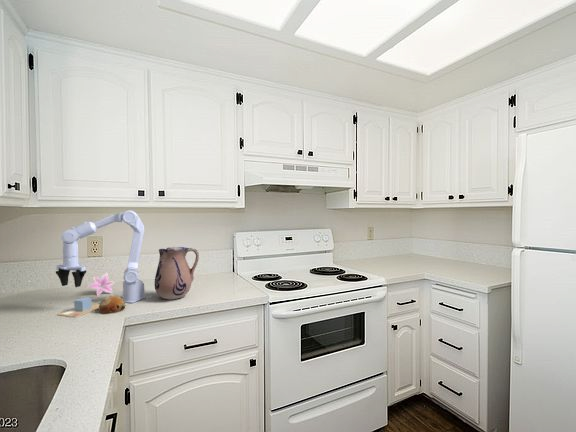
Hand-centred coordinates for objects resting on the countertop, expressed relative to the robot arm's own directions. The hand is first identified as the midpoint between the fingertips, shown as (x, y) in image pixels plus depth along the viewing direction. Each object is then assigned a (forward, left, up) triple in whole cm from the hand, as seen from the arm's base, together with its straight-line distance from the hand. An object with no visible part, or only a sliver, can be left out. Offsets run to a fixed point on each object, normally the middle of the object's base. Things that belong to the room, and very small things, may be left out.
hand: (71, 286), depth 136 cm
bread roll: (-2, +21, -10) cm, 23 cm away
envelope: (+1, +8, -10) cm, 13 cm away
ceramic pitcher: (-27, +36, -10) cm, 46 cm away
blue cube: (+1, +8, -10) cm, 12 cm away
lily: (-22, -6, -10) cm, 25 cm away
